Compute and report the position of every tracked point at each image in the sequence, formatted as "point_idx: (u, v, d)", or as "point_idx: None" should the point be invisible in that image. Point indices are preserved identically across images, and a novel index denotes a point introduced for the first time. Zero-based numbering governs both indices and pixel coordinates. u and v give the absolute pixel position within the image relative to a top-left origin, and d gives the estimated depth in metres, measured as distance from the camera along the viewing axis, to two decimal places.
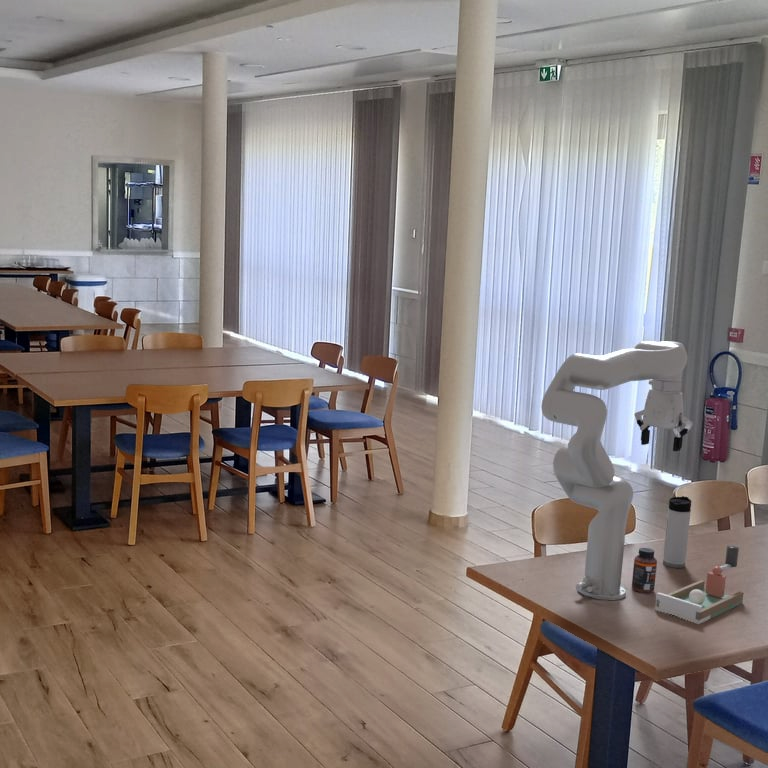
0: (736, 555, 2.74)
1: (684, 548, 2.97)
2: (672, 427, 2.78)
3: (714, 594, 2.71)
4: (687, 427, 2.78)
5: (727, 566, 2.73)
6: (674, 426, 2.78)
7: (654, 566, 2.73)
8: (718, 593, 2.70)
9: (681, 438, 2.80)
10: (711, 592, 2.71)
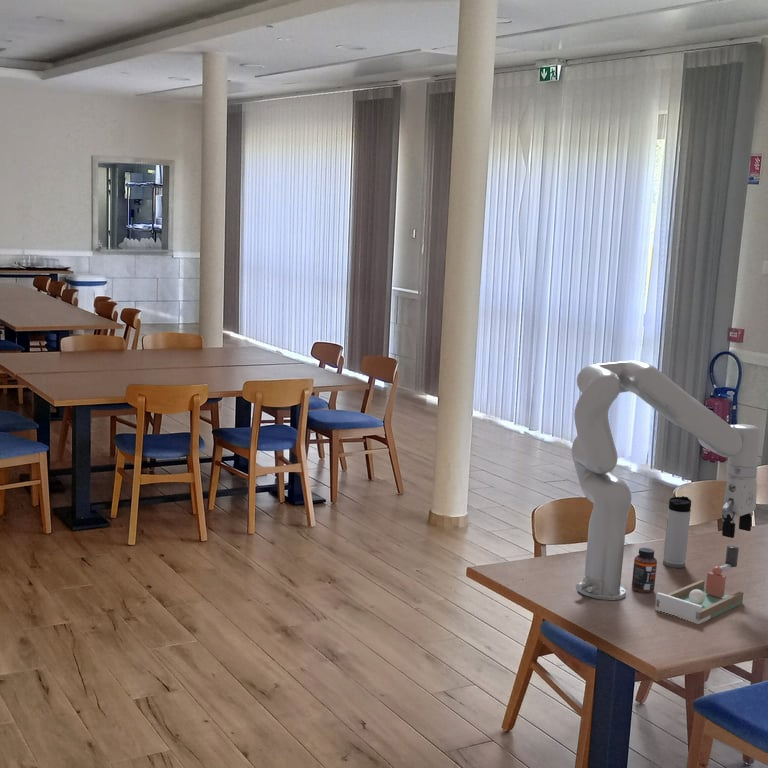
0: (736, 555, 2.74)
1: (684, 548, 2.97)
2: (755, 508, 2.75)
3: (714, 594, 2.71)
4: None
5: (727, 566, 2.73)
6: None
7: (654, 566, 2.73)
8: (718, 593, 2.70)
9: None
10: (711, 592, 2.71)
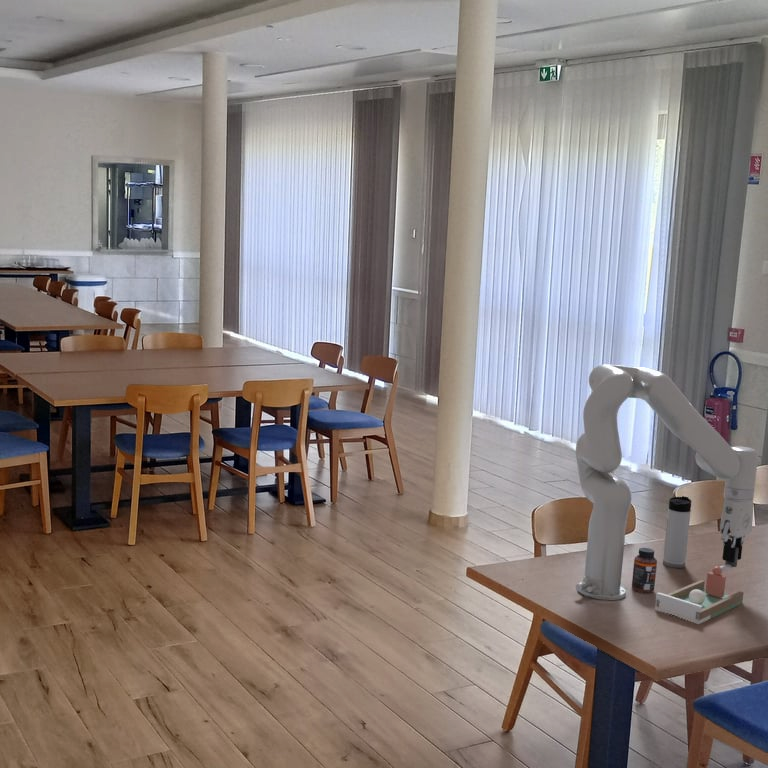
0: (736, 555, 2.74)
1: (684, 548, 2.97)
2: (751, 530, 2.76)
3: (714, 594, 2.71)
4: None
5: (727, 566, 2.73)
6: None
7: (654, 566, 2.73)
8: (718, 593, 2.70)
9: None
10: (711, 592, 2.71)
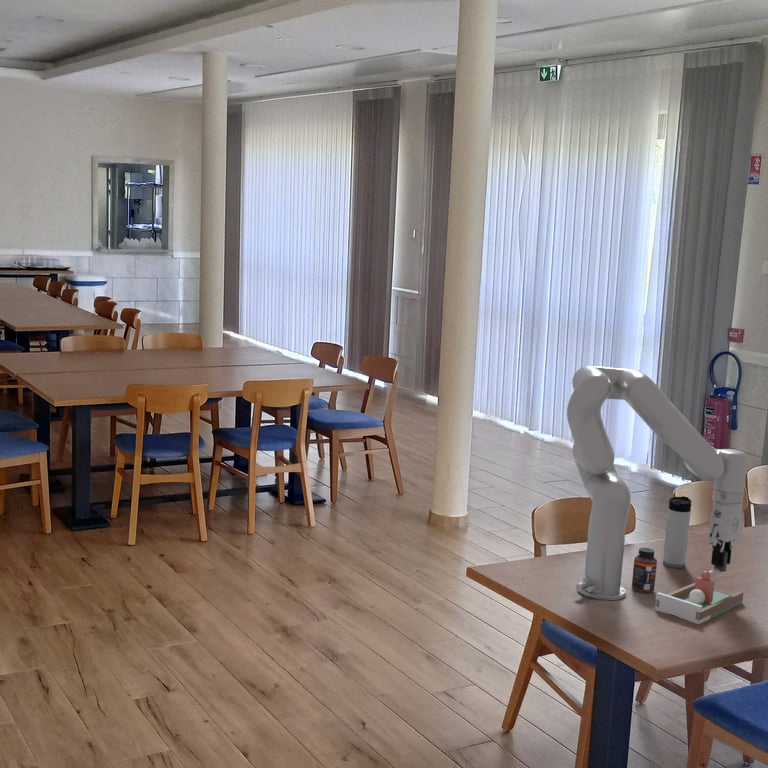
0: (725, 560, 2.70)
1: (684, 548, 2.97)
2: (740, 534, 2.72)
3: None
4: None
5: (716, 571, 2.69)
6: None
7: (654, 566, 2.73)
8: (706, 599, 2.65)
9: None
10: None
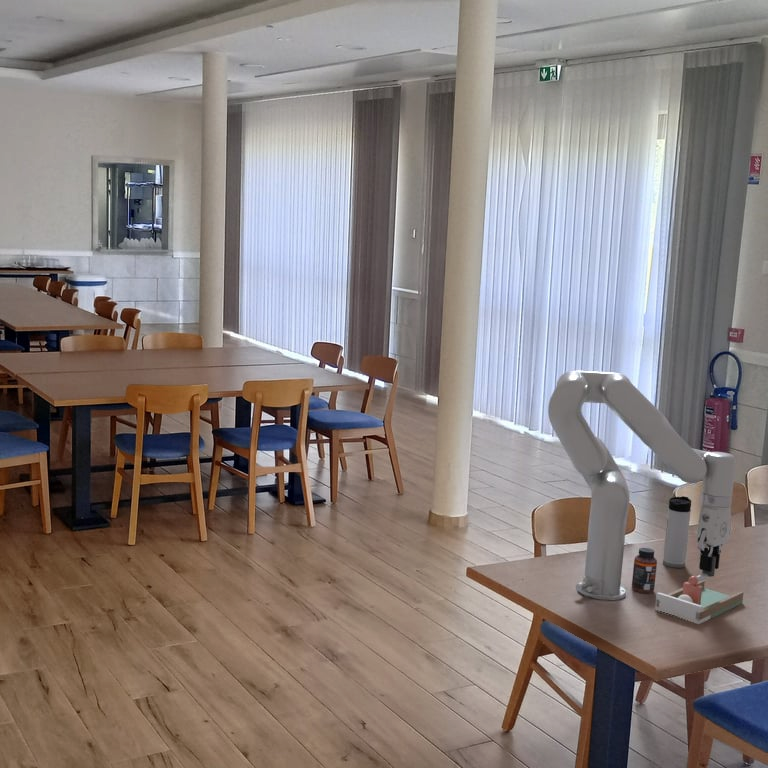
0: (713, 564, 2.65)
1: (684, 548, 2.97)
2: None
3: None
4: None
5: (704, 576, 2.64)
6: None
7: (654, 566, 2.73)
8: None
9: None
10: None
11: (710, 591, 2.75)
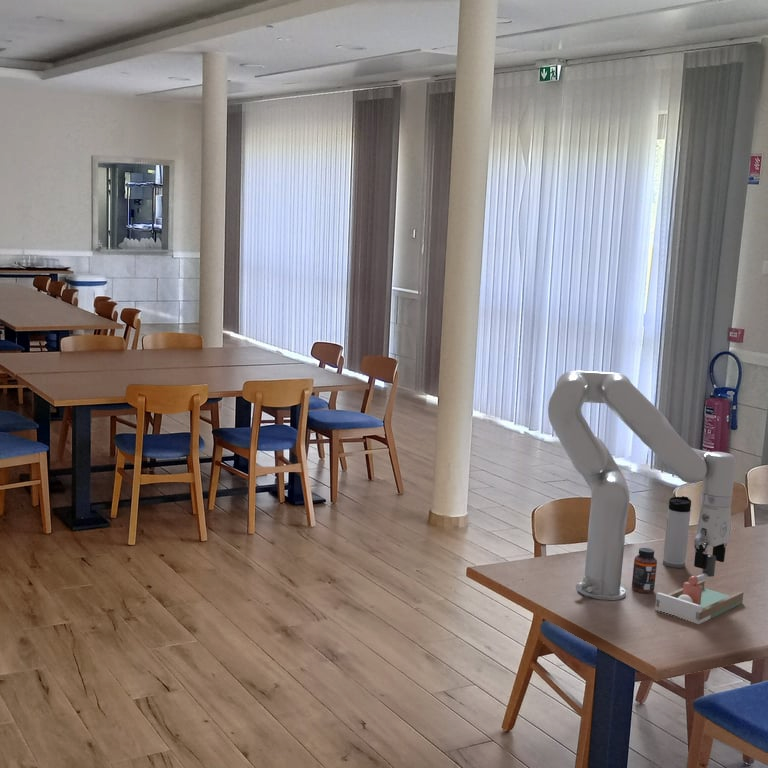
0: (713, 564, 2.65)
1: (684, 548, 2.97)
2: None
3: None
4: None
5: (704, 576, 2.64)
6: None
7: (654, 566, 2.73)
8: None
9: None
10: None
11: (710, 591, 2.75)
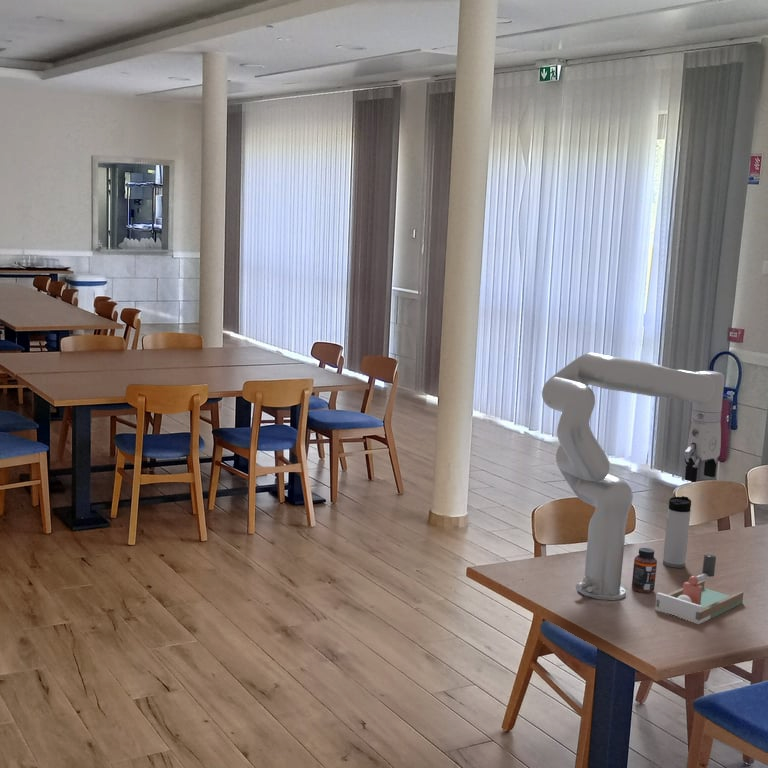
0: (713, 564, 2.65)
1: (684, 548, 2.97)
2: (719, 454, 2.80)
3: None
4: None
5: (704, 576, 2.64)
6: None
7: (654, 566, 2.73)
8: None
9: None
10: None
11: (710, 591, 2.75)
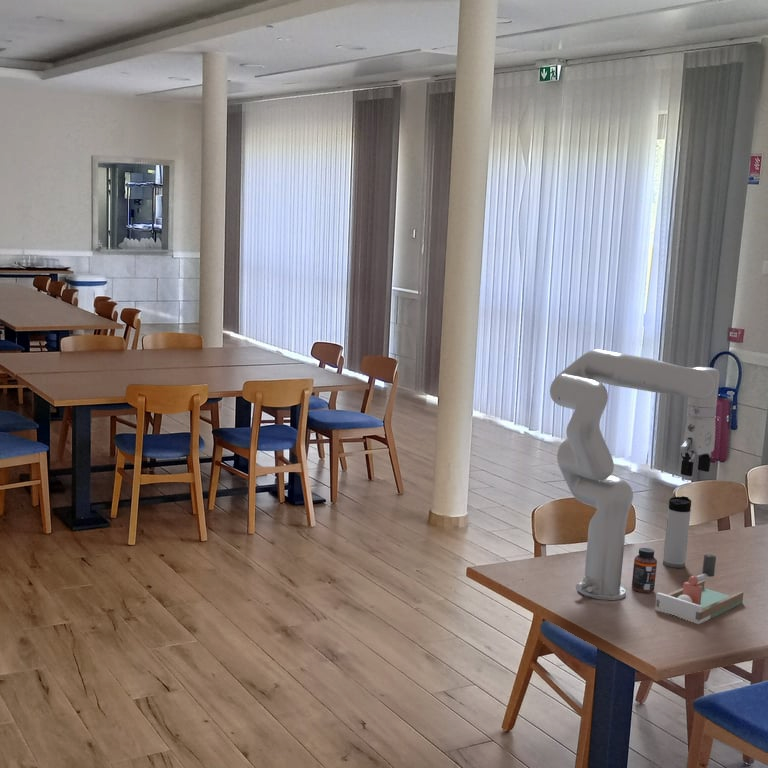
0: (713, 564, 2.65)
1: (684, 548, 2.97)
2: (713, 449, 2.84)
3: None
4: None
5: (704, 576, 2.64)
6: None
7: (654, 566, 2.73)
8: None
9: None
10: None
11: (710, 591, 2.75)
